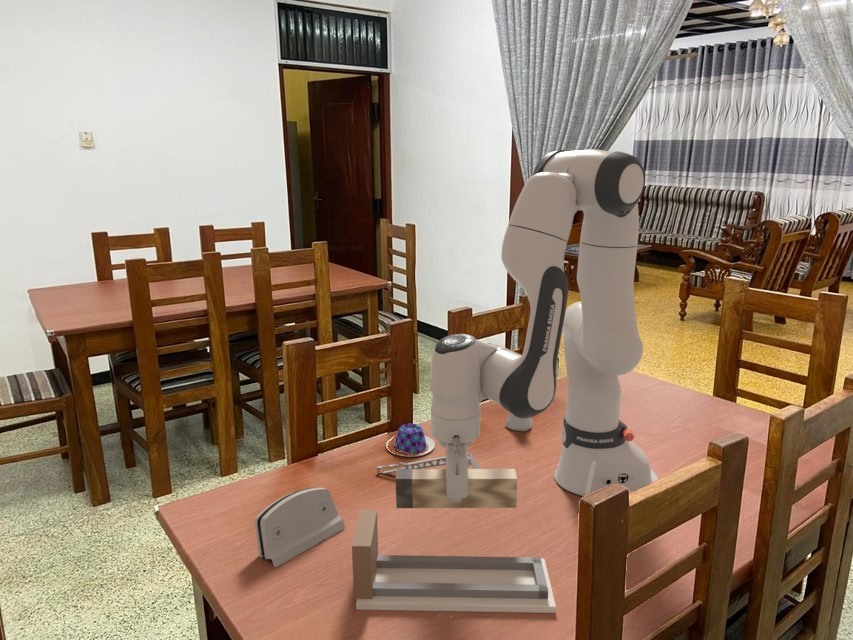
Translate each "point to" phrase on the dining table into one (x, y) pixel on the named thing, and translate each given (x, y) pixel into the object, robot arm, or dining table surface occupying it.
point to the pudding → (412, 440)
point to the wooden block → (431, 493)
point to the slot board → (444, 579)
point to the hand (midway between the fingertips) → (456, 492)
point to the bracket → (431, 464)
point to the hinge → (296, 524)
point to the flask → (518, 423)
